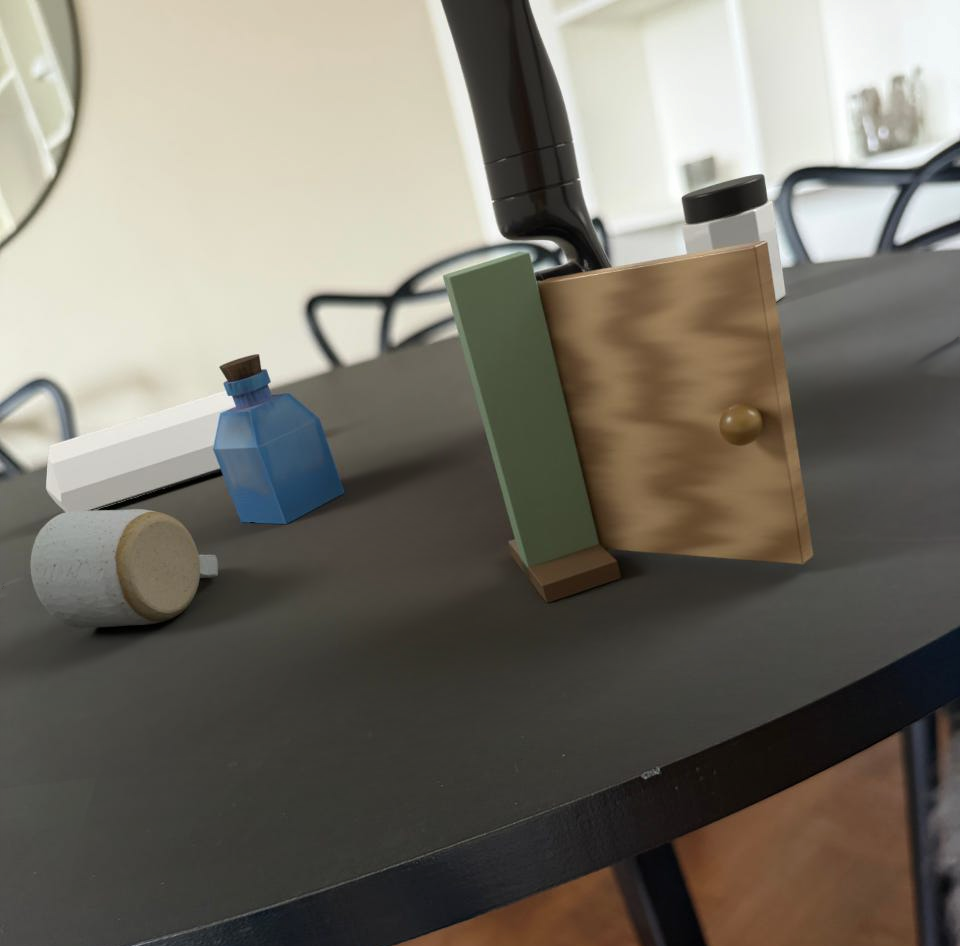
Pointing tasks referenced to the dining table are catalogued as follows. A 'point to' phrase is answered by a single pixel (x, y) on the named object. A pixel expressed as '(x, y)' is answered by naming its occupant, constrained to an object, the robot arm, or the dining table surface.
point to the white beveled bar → (136, 455)
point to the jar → (733, 220)
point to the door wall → (528, 425)
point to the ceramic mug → (116, 567)
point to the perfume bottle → (271, 449)
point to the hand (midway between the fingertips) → (733, 361)
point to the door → (682, 405)
